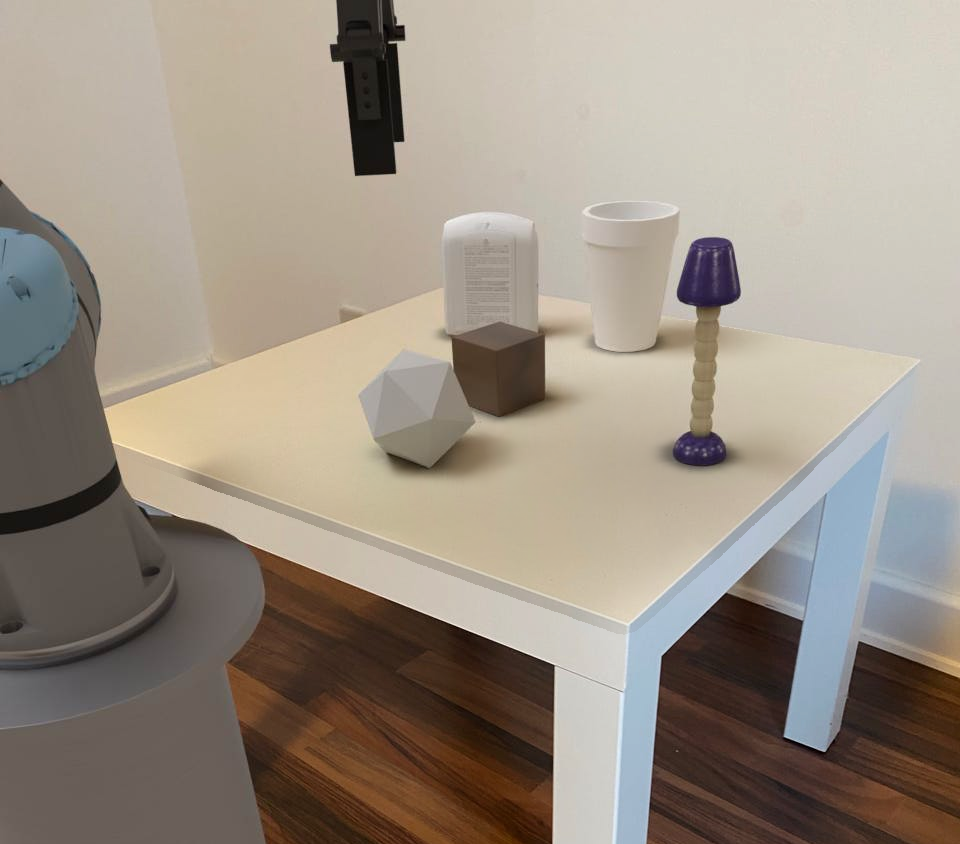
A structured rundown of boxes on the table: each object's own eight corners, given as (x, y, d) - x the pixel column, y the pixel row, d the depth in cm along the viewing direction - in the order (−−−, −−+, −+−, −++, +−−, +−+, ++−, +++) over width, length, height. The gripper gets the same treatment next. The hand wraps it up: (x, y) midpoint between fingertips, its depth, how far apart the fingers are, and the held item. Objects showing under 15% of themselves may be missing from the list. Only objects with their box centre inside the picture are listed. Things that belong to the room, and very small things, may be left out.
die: (497, 459, 85) (471, 344, 85) (453, 446, 76) (425, 318, 77) (408, 486, 88) (384, 375, 88) (357, 477, 80) (331, 354, 80)
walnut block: (498, 416, 91) (496, 351, 87) (454, 400, 94) (451, 336, 91) (545, 398, 94) (545, 334, 90) (501, 383, 98) (499, 321, 94)
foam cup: (689, 344, 105) (699, 210, 97) (618, 363, 101) (623, 225, 93) (631, 322, 111) (636, 196, 104) (562, 339, 108) (563, 209, 100)
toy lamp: (711, 472, 79) (732, 251, 70) (656, 461, 81) (669, 244, 72) (733, 450, 83) (756, 235, 73) (680, 439, 85) (696, 230, 75)
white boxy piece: (541, 327, 111) (540, 207, 104) (536, 339, 108) (535, 217, 101) (449, 326, 113) (442, 208, 106) (442, 338, 109) (434, 217, 103)
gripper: (401, -276, 50) (431, 187, 62) (416, -209, 70) (436, 129, 82) (249, -268, 50) (308, 193, 62) (309, -204, 70) (344, 133, 82)
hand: (381, 157), depth 72 cm, fingers open, 13 cm apart
